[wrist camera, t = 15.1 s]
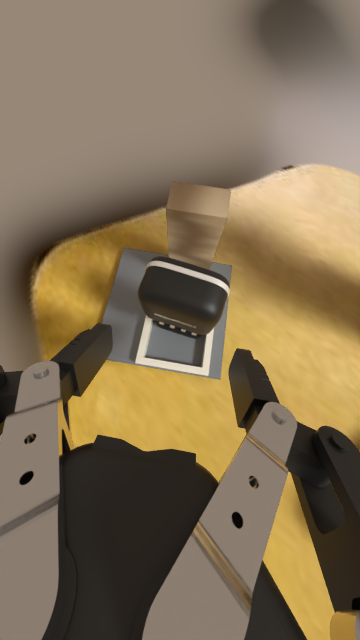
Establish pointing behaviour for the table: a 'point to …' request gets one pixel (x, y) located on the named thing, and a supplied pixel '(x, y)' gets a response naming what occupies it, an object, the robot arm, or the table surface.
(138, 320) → the board
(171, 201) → the birch pillar
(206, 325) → the battery charger
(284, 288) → the table surface
